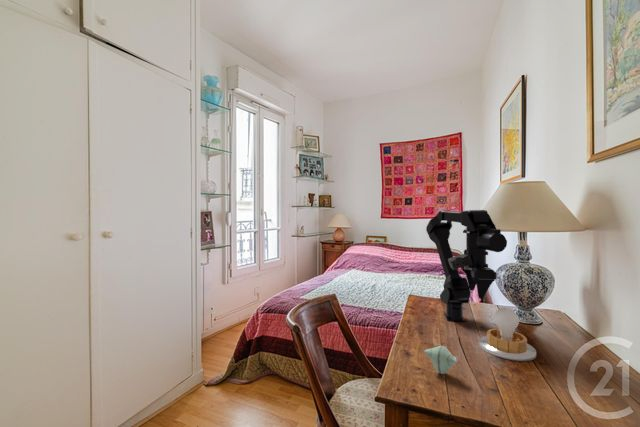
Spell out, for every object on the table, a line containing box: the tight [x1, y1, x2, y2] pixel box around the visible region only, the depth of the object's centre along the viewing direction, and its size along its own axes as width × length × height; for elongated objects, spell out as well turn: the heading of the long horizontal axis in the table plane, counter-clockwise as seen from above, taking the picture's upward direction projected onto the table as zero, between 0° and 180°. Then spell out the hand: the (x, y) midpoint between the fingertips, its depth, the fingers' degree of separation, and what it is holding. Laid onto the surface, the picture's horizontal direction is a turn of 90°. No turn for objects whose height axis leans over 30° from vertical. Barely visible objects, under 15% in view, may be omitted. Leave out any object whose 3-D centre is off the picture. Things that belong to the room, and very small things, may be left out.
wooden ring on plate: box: [478, 328, 537, 362], centre depth 84 cm, size 14×14×4 cm
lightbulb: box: [493, 307, 520, 341], centre depth 84 cm, size 6×6×11 cm
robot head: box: [423, 345, 458, 375], centre depth 72 cm, size 8×4×7 cm, turn 47°
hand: (476, 294), depth 95 cm, fingers open, 9 cm apart
